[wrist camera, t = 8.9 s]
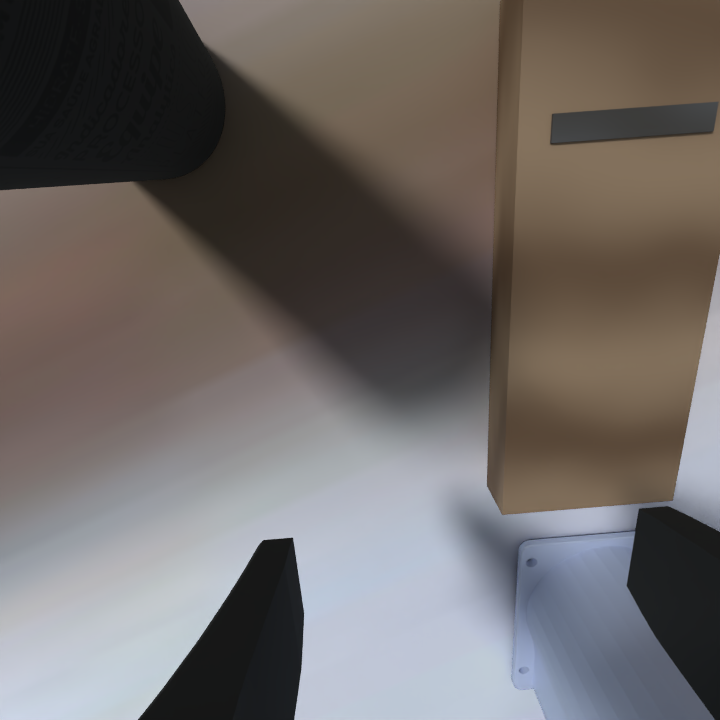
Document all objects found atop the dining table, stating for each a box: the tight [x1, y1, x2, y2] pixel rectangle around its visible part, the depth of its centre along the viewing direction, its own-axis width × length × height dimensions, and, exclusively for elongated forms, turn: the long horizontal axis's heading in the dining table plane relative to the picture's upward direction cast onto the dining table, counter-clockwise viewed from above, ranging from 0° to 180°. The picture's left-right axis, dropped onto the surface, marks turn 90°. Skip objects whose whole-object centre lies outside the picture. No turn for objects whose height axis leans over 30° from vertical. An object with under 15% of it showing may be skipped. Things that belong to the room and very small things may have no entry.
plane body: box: [487, 0, 720, 515], centre depth 16 cm, size 18×7×2 cm, turn 4°
